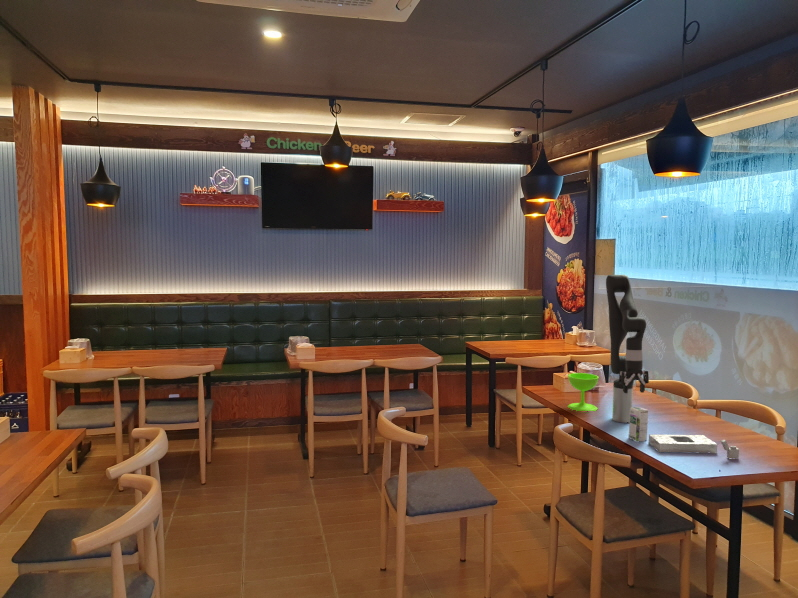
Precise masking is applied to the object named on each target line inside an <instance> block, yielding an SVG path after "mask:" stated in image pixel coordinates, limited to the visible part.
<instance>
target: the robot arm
mask: <svg viewBox="0 0 798 598" xmlns="http://www.w3.org/2000/svg"><path fill="white" fill-rule="evenodd" d="M605 289H606V296H607V297H606V298H607V304H608V325H609V326H608V327H609V335H610V336H609V337H610V368H611V370H610V371H611V372H612V373H613V374H614V375H618V379H616V380H614V381H613V386H612V387H613V390H612V391H613V392H612V393H613V394H612V421H614V422H617V423H622V424H623V423H624V424H625V423H627V422H628V423H629V421H630V408H632V407H633V396H634V395H633V394H634V393H633V392H634V390H633V389H634V382H635V381H638V382H639V392H640V393H644V392H645V391H646V390H645V389H646V385H647V384H649V383H650V380H649V379H650V377H649V375H650V374H649V371H648V370H643V356H644V355H643V338H644V335H645V332H646V328H647V322H646V319H645V318H644V317H638V313H639V312H638V310H637V309H638V308H636V305H635V301H634V297H633V292H632V286H631V282H630V278H629V277H628V275H626V274H608V275H607V277H606V279H605ZM616 293H617V294H618V293H624V295H623V297H622V299H620V303H619V302H618V300H617V296H616ZM628 333H636V334H634V335H633V336H628V337H627V335H628ZM626 337H627V338H626ZM625 338H626V339H625ZM624 340H625V345H626V346H625V355H620V349H621V346H622V344H623V342H624ZM628 423H627V424H628Z"/></svg>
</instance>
